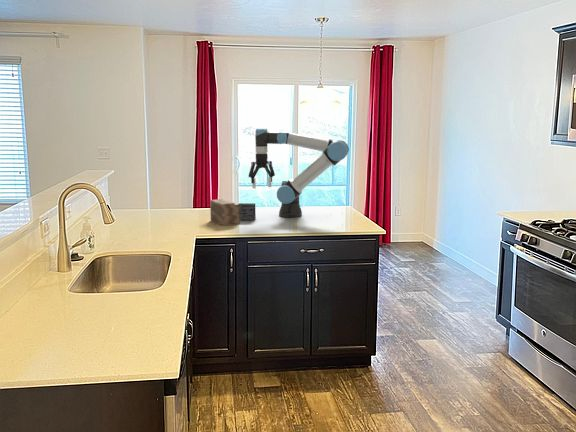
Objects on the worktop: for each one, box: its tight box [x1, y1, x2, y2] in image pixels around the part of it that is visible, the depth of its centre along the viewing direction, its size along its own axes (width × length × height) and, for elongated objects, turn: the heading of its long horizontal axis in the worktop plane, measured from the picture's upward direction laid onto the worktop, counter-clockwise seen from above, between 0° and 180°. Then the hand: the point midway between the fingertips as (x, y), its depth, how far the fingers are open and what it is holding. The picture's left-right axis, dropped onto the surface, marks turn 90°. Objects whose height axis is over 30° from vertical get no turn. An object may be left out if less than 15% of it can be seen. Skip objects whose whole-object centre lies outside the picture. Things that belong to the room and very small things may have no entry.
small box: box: [238, 202, 257, 222], centre depth 369 cm, size 11×6×10 cm, turn 84°
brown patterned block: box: [209, 198, 240, 227], centre depth 360 cm, size 11×18×13 cm, turn 32°
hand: (261, 187), depth 372 cm, fingers open, 11 cm apart
